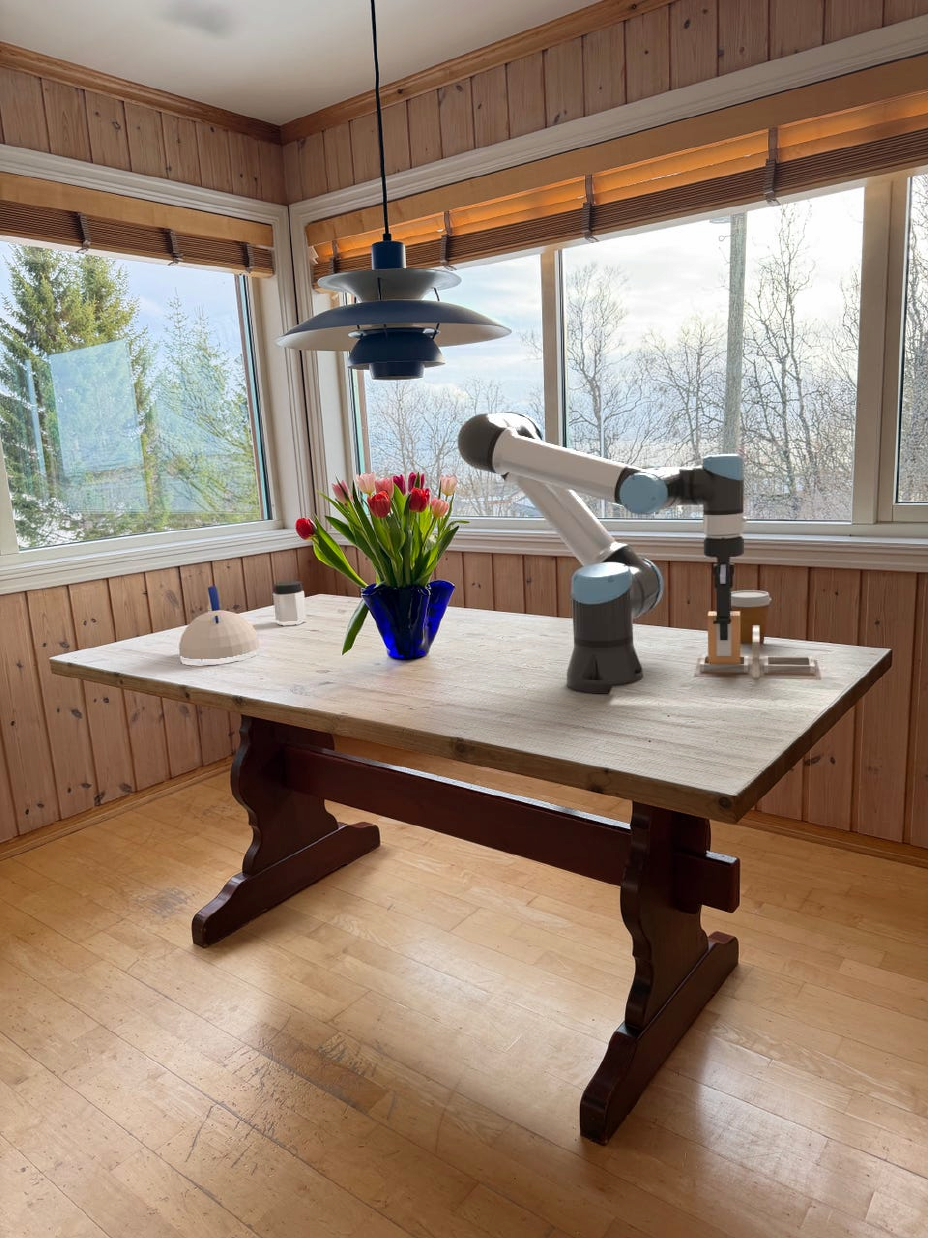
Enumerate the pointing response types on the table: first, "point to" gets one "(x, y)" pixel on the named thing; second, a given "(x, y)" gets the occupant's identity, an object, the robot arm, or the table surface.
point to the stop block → (734, 639)
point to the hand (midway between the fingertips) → (724, 652)
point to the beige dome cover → (217, 633)
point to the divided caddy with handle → (761, 666)
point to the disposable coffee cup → (751, 613)
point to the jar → (289, 601)
